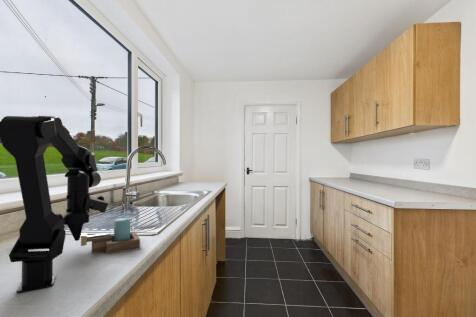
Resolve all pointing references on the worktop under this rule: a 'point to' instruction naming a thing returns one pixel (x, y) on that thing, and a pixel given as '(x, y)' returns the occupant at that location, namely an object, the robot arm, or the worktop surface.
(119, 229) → the peg
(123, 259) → the worktop surface
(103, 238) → the dock
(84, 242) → the lock bolt
